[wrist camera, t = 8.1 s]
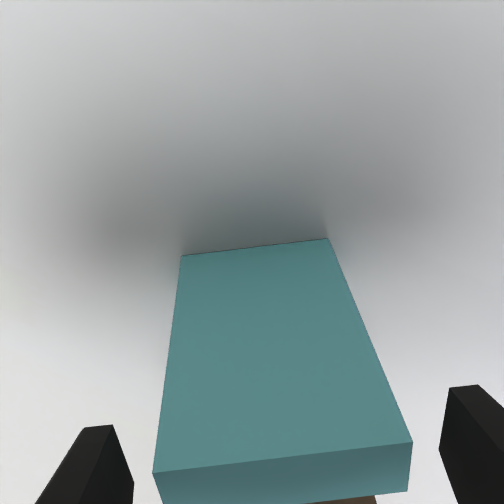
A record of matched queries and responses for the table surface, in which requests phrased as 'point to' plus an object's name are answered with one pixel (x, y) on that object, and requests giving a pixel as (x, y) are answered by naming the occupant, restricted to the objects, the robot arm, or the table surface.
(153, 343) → the table surface
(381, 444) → the teal domino
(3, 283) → the table surface
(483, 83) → the table surface
